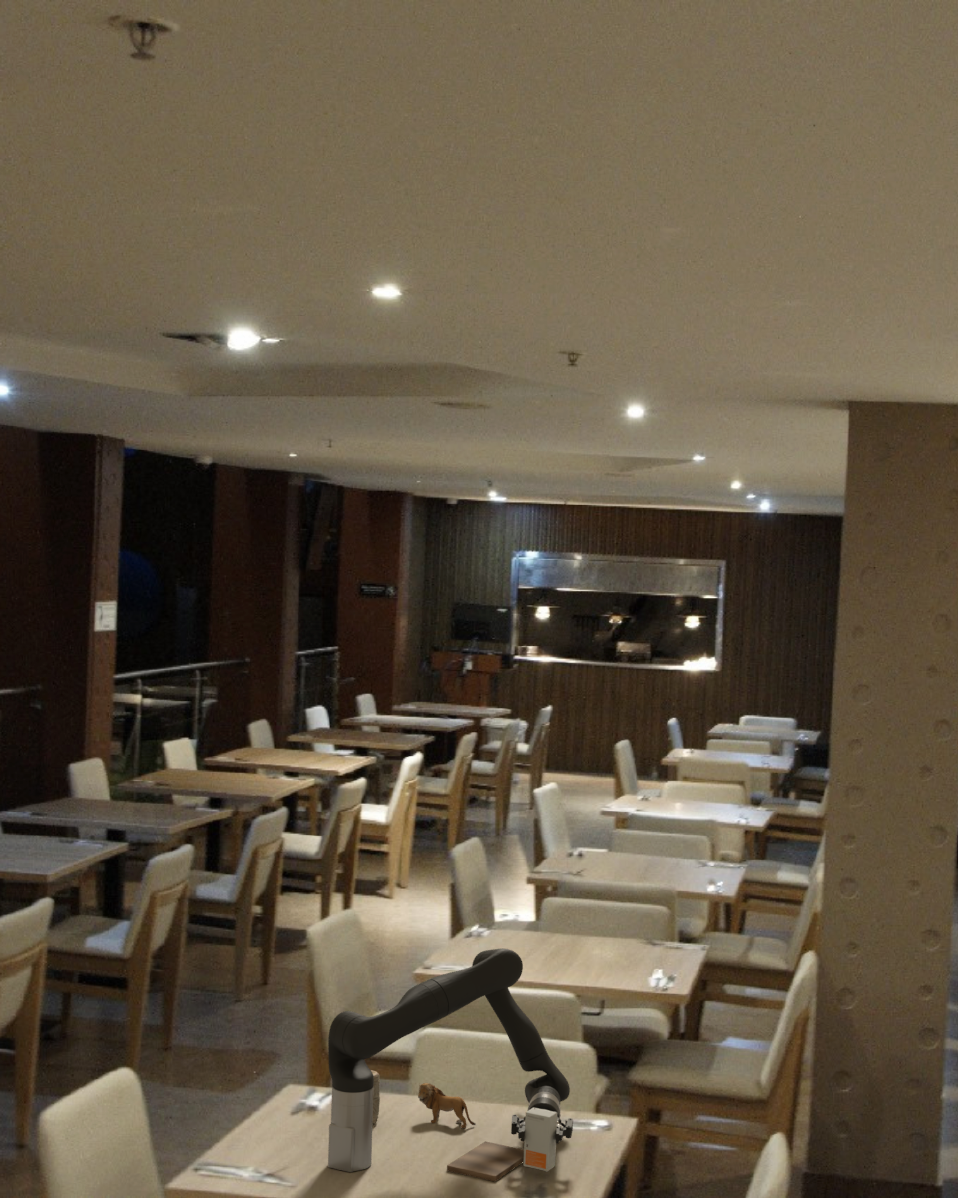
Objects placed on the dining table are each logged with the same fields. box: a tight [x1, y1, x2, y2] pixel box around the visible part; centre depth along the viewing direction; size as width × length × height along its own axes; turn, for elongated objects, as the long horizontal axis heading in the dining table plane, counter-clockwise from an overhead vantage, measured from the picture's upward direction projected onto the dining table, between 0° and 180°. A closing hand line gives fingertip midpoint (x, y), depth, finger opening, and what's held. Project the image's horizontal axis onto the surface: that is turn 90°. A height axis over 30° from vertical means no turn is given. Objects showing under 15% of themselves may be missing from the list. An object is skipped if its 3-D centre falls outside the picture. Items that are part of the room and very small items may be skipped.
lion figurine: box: [417, 1082, 476, 1129], centre depth 376 cm, size 15×5×9 cm, turn 73°
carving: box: [370, 1069, 381, 1125], centre depth 375 cm, size 6×8×12 cm
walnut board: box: [446, 1141, 524, 1183], centre depth 350 cm, size 18×12×1 cm, turn 152°
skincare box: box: [522, 1107, 557, 1172], centre depth 343 cm, size 6×4×12 cm
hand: (540, 1137), depth 341 cm, fingers closed on skincare box, 7 cm apart
